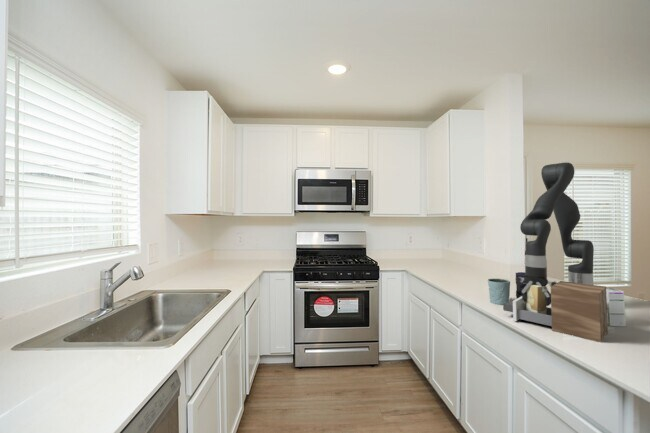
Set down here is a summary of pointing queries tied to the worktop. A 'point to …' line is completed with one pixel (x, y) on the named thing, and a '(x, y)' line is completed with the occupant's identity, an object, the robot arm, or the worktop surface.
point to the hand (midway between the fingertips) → (536, 303)
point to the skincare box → (536, 299)
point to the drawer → (527, 312)
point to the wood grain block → (579, 310)
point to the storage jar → (522, 275)
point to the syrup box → (615, 307)
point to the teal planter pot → (499, 291)
